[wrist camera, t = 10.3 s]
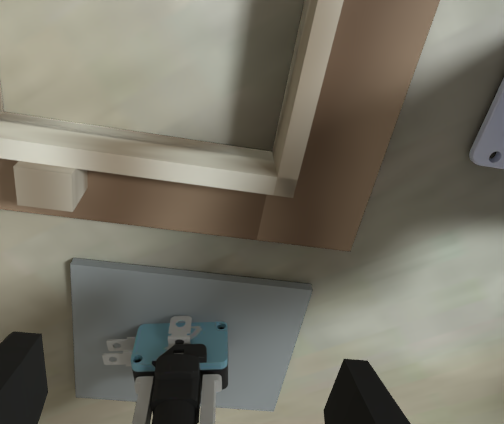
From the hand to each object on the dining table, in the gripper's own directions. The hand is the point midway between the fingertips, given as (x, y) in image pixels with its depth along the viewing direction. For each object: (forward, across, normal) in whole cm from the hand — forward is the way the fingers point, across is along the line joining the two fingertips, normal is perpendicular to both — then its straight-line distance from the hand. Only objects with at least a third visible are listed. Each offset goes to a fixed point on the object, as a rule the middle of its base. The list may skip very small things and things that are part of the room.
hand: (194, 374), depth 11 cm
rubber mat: (+10, 0, +10) cm, 14 cm away
